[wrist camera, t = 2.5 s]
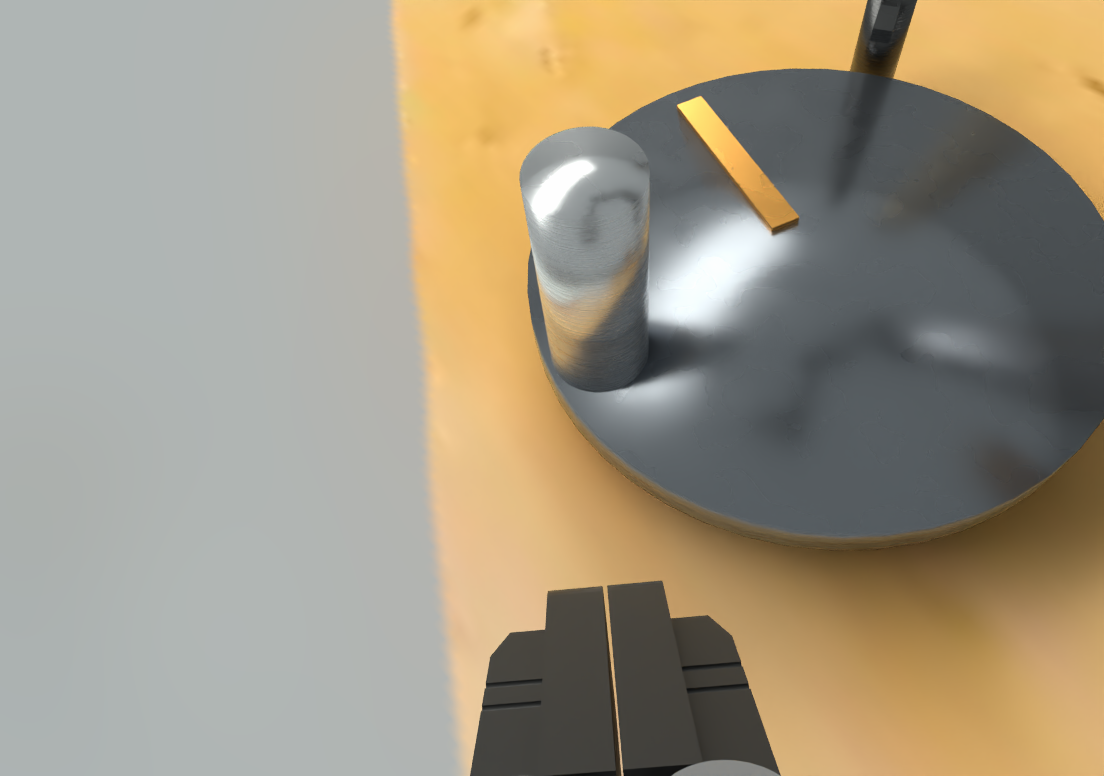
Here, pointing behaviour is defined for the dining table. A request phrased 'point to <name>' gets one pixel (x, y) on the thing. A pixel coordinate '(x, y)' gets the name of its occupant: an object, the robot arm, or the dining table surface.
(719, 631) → the robot arm
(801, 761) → the dining table surface
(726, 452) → the turntable
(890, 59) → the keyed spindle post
